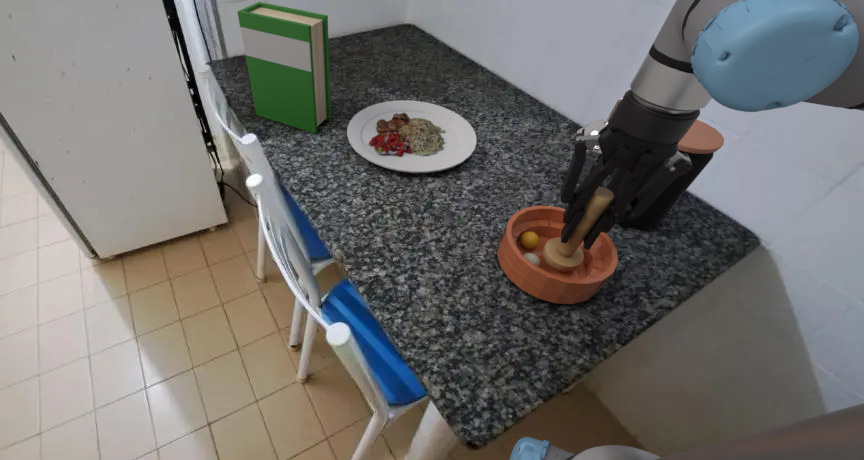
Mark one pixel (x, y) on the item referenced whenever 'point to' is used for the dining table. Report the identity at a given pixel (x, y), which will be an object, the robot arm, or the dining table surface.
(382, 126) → the plated food
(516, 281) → the bowl
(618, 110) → the robot arm
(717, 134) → the coffee jar
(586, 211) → the masher
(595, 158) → the cup with straw
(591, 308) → the dining table surface
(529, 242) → the bead
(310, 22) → the hardback book
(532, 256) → the bead
